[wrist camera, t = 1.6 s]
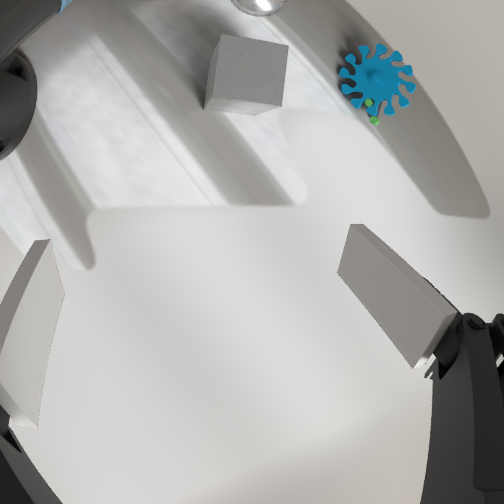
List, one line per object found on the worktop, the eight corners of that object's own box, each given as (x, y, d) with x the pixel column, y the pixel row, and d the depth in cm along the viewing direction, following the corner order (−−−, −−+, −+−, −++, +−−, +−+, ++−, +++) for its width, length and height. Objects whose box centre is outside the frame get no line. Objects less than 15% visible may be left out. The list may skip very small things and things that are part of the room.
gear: (342, 36, 30) (419, 51, 26) (354, 49, 35) (421, 63, 31) (330, 113, 35) (406, 133, 31) (343, 117, 40) (409, 135, 36)
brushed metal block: (203, 110, 32) (212, 97, 23) (209, 62, 30) (221, 34, 21) (254, 115, 34) (281, 106, 24) (259, 69, 32) (288, 45, 22)
